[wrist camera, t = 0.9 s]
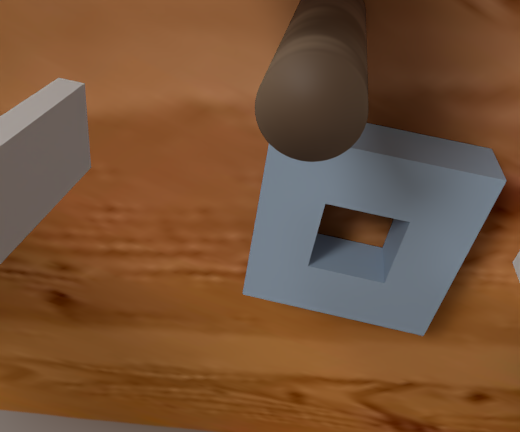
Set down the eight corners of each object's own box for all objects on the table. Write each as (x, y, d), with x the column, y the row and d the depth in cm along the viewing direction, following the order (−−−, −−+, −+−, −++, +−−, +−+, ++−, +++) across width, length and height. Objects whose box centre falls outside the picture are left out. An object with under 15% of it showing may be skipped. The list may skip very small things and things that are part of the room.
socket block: (252, 260, 40) (242, 294, 37) (280, 104, 32) (271, 130, 29) (418, 298, 40) (423, 335, 36) (491, 148, 31) (506, 180, 28)
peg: (291, 44, 30) (248, 149, 18) (304, -27, 27) (263, 44, 16) (355, 57, 29) (351, 171, 18) (374, -14, 27) (382, 68, 16)
